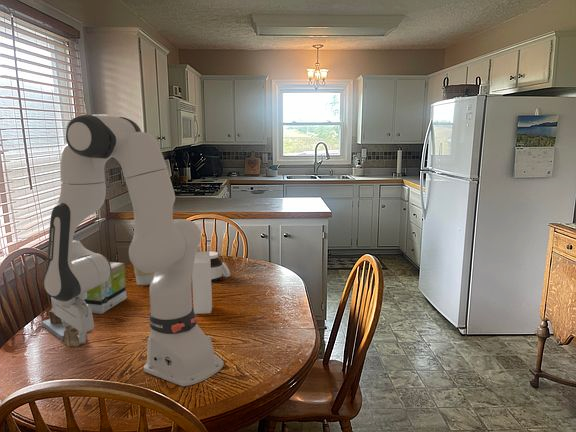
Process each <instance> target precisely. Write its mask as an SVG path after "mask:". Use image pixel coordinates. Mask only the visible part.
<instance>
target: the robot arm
mask: <svg viewBox="0 0 576 432" xmlns="http://www.w3.org/2000/svg"><path fill="white" fill-rule="evenodd" d="M64 133H65V134H64V136H65V142H66V144H65V145H64V146H63V148H62V149H61V150H62V151H61V156H60V169H59V170H60V172H59V173H60V174H59V175H60V194H59V198H58V200H57V203H56V205H55V206H54V207H53V209H52V211H51V214H50V219H49V220H50V221H49V231H48V232H49V233H48V234H49V235H48V247H47V248H48V249H47V262H46V267H45V272H44V276H43V280H42V281H43V288H44V289H43V290H44V291H45V293H46V294H47V295H48V296H49V297H50V299H51V307H52V308H53V311H54V313H55V315H56V316H58V317H59V318H61V321H62V323H63V326H64V331H66V329H67V328H71V327H74V328H75V329H77V330H78V332H79V336H77V338H78V341H79V342H84V341H87V340H86V333H87V334H88V332H87V331H89V332H91V331H92V330H93V329H94V327H95V325H94V322H95V321H94V317H93V313H92V311H91V308H90V306H89V305H88V304H86V302H85V301H84V300H85V299H86V298H87V291H89V290H91V289H93V288H95V287H97V286H100V285H102V284H104V283H105V282H107V281H108V280H109V279H110V276H111V265H110V262H111V261H110V260H109V259H108V258H107V257H106V256H105V255H103V254H101V253H96V252H94V251H92V250H89V249H87V248H86V247H85V246H84V245H83V244H82V242H81V241H79V240H77V239H74V235H75V232H76V231H77V229H78V227H79V226H80V225H81V224H82V222H84V221H85V220H86V219H87V218H89V217H90V216H92V215H93V214H95V213H96V212H97V211H99V210H100V209H101V207H102V206H103V205H104V203H105V200H106V194H107V188H106V187H107V185H106V173H105V166H106V163H107V161H108V160H110V159H113V160H116V161H117V162H118V163H119V165H120V167H121V171H122V173H123V177H124V180H125V184H126V187H127V190H128V194H129V198H130V202H131V204H132V209H133V222H134V223H133V237H132V240H131V242H130V244H129V247H128V257H129V261H130V263H131V264H132V265H133V268H134V267H135V268H136V269H138V270H139V271H141V272H144V273H153V272H154V277H153V279H152V281H151V283H150V284H149V288H148V289H149V304H150V306H149V307H150V312H149V318H148V320H149V321H148V322H149V328H150V333H149V336H148V338H147V343H146V344H147V345H146V346H147V347H146V348H147V349H146V363H145V364H144V365H143V372H145V373H147V374H149V375H152V376H155V377H157V378H161V379H162V380H166V381H168V382H170V383H173V384H175V385H178V386H181V387H187V386H192V385H195V384H198V383H200V382H203V381H205V380H207V379H208V378H210V377H212V376H215V374H217V373H218V372H220V370H222V369H223V367H224V365H225V364H224V360H223V359H222V358H220V357H219V356H218V355H216V354H215V349H214V345H213V343H212V342H213V341H212V337H211V336H210V335H206V334H205V333H204V331H203V330H202V328H201V327H200V326H199V325H198V321H199V316H196V314H195V312H194V307H193V302H192V300H193V297H192V272H193V266H194V260H195V254H196V252H197V249H198V247H199V245H200V242H201V238H202V235H201V231H200V228H199V226H198V225H197V224H196V223H195V222H194V221H192V220H190V219H185V218H184V219H183V218H182V219H179V218H178V219H174V218H173V217H174V216H173V215H174V214H173V212H174V211H173V210H174V204H175V202H176V194H175V189H174V187H173V183H172V180H171V176H170V173H169V170H168V166H167V164H166V161H165V157H164V155H163V153H162V150H161V148H160V147H159V145H158V143H157V141H156V138H155V137H154V136H153V135H151V134H150V133H148V132H145V131H142V130H141V128H140V126H139V125H138V124H137V123H136V122H135V121H133V120H131V119H129V118H127V117H123V116H113V115H109V114H82V115H78V116H76V117H74V118H72V119H70V121H69V122H68V123H67V125H66V127H65V132H64ZM90 330H91V331H90Z"/></svg>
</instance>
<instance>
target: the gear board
mask: <svg viewBox="0 0 576 432" xmlns="http://www.w3.org/2000/svg"><path fill="white" fill-rule="evenodd" d="M41 324H42V327H44V328H45V329H46V330H47V331H49V332H50V333H52V334H53V335H55V336H56V337H57V338H58V339H60V340H61V341H65V340H64V326H63V324H54V323H51V322H50V318H49V319H45V320H42V321H41ZM91 331H92V330H90V331H87V333H88V332H91Z"/></svg>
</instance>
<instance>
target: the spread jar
mask: <svg viewBox="0 0 576 432" xmlns="http://www.w3.org/2000/svg"><path fill="white" fill-rule="evenodd" d="M209 256H210V262H211V283H212V282H214V283H215V282H218V281H219V280H220V279H221V278H222V277H223V276H224V277H225V278H229V277H231V272H230V269H229V267H228V266H227V264H226V263H225V262H223V261H222V260H221V258H220V257H219V252H217V251H209Z"/></svg>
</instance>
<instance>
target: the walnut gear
mask: <svg viewBox="0 0 576 432" xmlns="http://www.w3.org/2000/svg"><path fill="white" fill-rule="evenodd" d="M48 314H49V319H50V322H51V323H54V324H63V323H62V321H61V318H59V317H58V316H56V315H55V313H54V311H53V307H52V308H50V310H49V311H48Z"/></svg>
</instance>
